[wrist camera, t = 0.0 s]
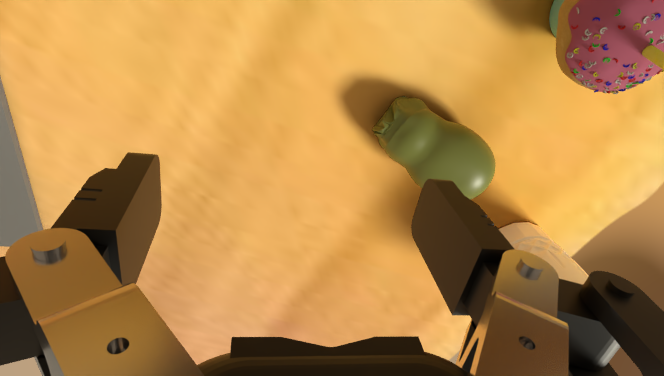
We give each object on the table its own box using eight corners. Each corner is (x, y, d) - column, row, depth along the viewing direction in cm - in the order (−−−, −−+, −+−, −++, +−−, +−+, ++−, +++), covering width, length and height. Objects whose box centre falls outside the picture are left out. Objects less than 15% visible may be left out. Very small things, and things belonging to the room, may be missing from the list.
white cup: (464, 276, 42) (511, 364, 34) (483, 218, 38) (542, 303, 30) (534, 271, 43) (596, 355, 35) (560, 213, 39) (638, 295, 31)
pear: (466, 226, 30) (358, 159, 28) (449, 191, 35) (356, 130, 32) (522, 173, 28) (411, 93, 25) (496, 142, 33) (400, 72, 30)
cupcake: (600, 74, 31) (756, 151, 21) (500, 59, 29) (619, 137, 19) (670, -56, 26) (914, -35, 16) (557, -82, 24) (752, -75, 14)
